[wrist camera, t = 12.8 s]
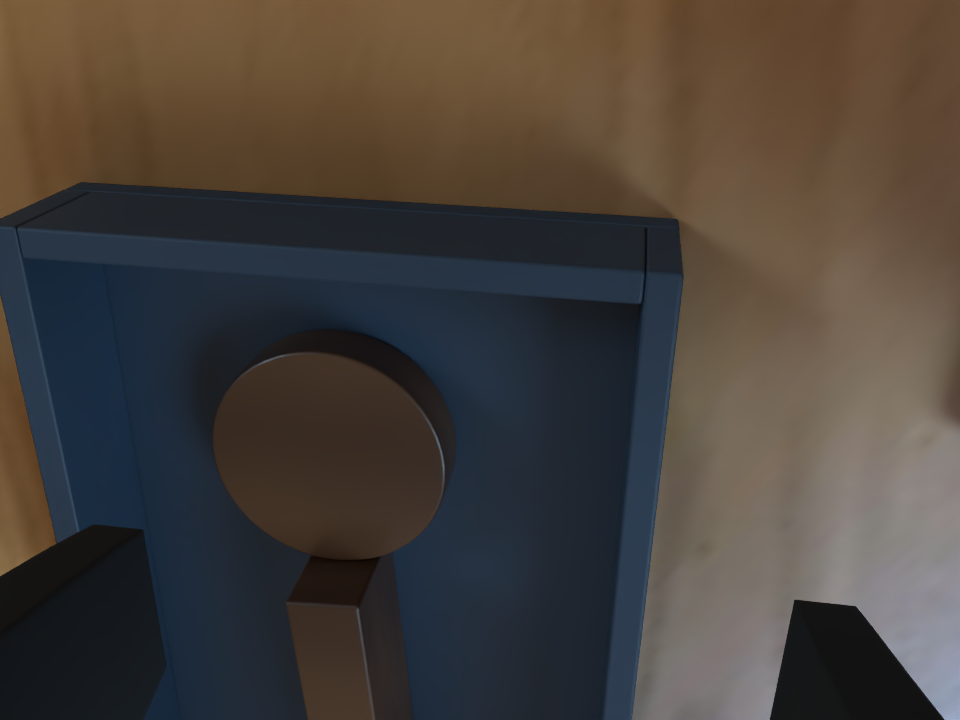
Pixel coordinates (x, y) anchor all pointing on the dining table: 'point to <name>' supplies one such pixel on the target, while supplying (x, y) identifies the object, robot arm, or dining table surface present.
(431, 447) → the wooden spoon
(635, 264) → the tray
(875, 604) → the dining table surface
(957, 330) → the dining table surface
